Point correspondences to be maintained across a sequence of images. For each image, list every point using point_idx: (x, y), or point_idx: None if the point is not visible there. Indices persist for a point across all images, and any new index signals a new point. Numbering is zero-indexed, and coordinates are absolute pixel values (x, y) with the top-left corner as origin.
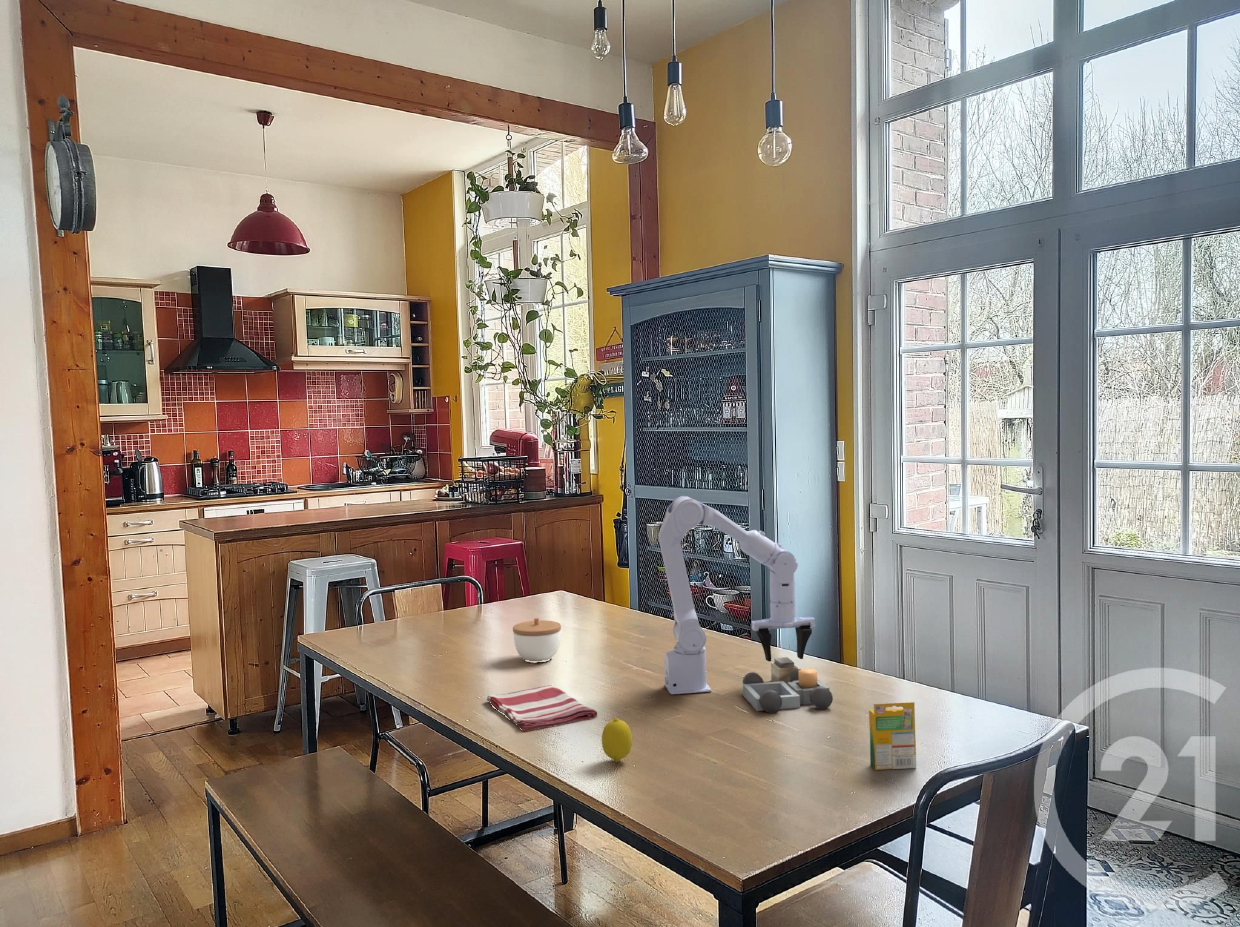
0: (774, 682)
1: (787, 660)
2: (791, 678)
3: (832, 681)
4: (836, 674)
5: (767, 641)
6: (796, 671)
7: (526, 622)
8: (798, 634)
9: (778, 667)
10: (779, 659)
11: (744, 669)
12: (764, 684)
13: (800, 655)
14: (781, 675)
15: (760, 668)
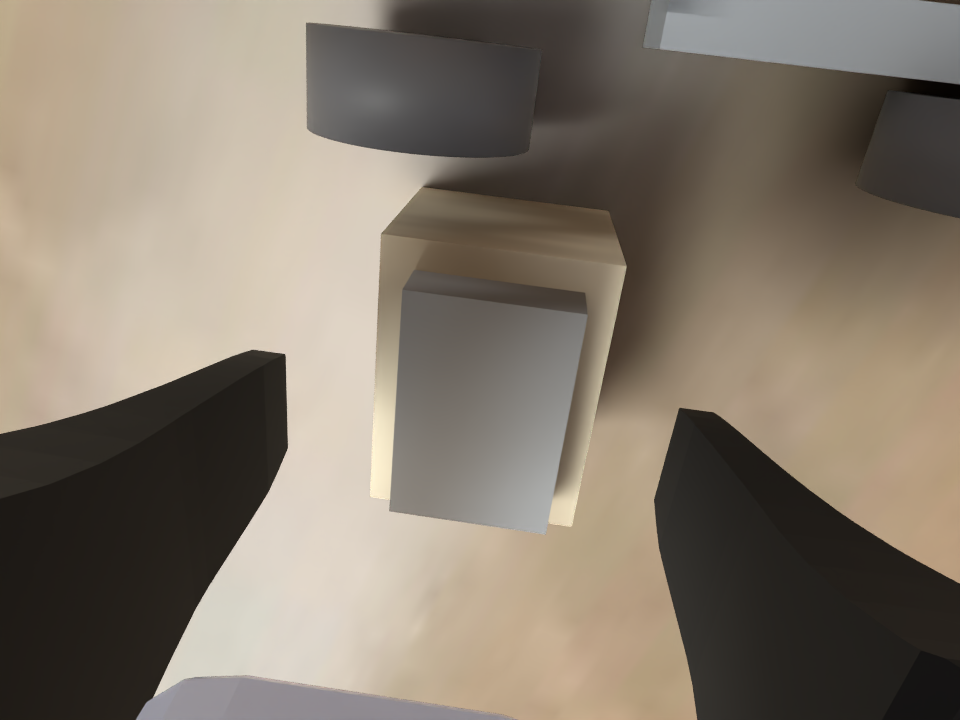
0: (791, 38)
1: (443, 400)
2: (533, 92)
3: (77, 215)
4: (7, 375)
5: (886, 577)
6: (456, 96)
7: None
8: (104, 663)
9: (593, 330)
10: (515, 469)
11: (625, 694)
12: (955, 5)
13: (265, 368)
14: (588, 240)
15: (508, 674)
